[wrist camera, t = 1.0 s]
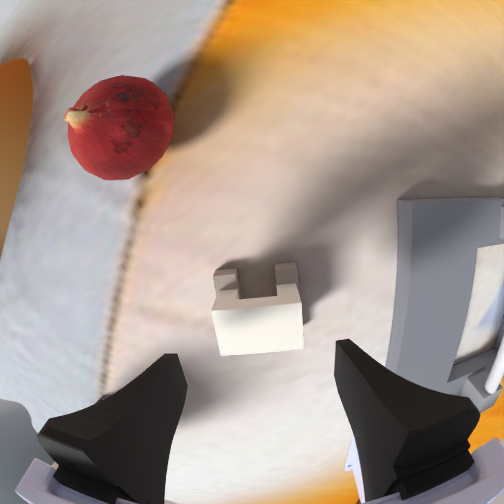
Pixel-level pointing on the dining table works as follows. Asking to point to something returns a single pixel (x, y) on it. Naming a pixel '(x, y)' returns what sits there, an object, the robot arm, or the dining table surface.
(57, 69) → the dining table surface
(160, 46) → the dining table surface
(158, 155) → the onion
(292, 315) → the white notched u-block
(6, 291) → the dining table surface
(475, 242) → the grey piece
